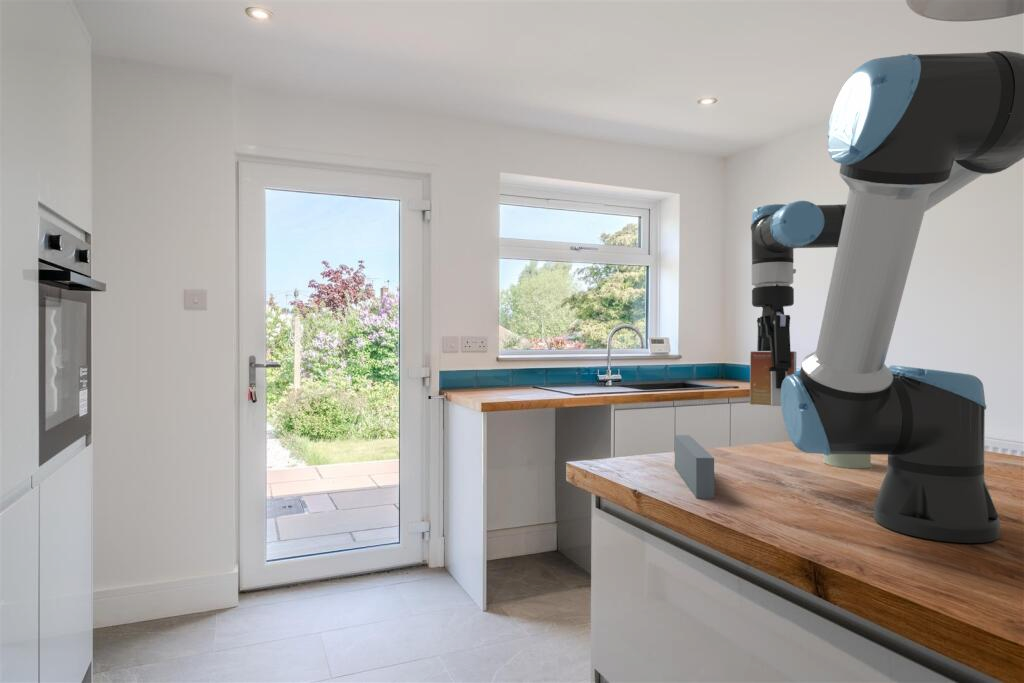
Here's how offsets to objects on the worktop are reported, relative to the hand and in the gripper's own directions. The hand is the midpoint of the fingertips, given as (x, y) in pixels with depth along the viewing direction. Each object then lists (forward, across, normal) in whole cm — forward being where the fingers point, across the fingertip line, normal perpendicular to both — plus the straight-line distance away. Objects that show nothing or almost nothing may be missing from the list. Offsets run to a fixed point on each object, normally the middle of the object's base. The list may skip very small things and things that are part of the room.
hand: (773, 403), depth 120 cm
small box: (0, 0, 0) cm, 0 cm away
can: (+15, +16, -19) cm, 29 cm away
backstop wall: (+15, -4, +16) cm, 22 cm away
